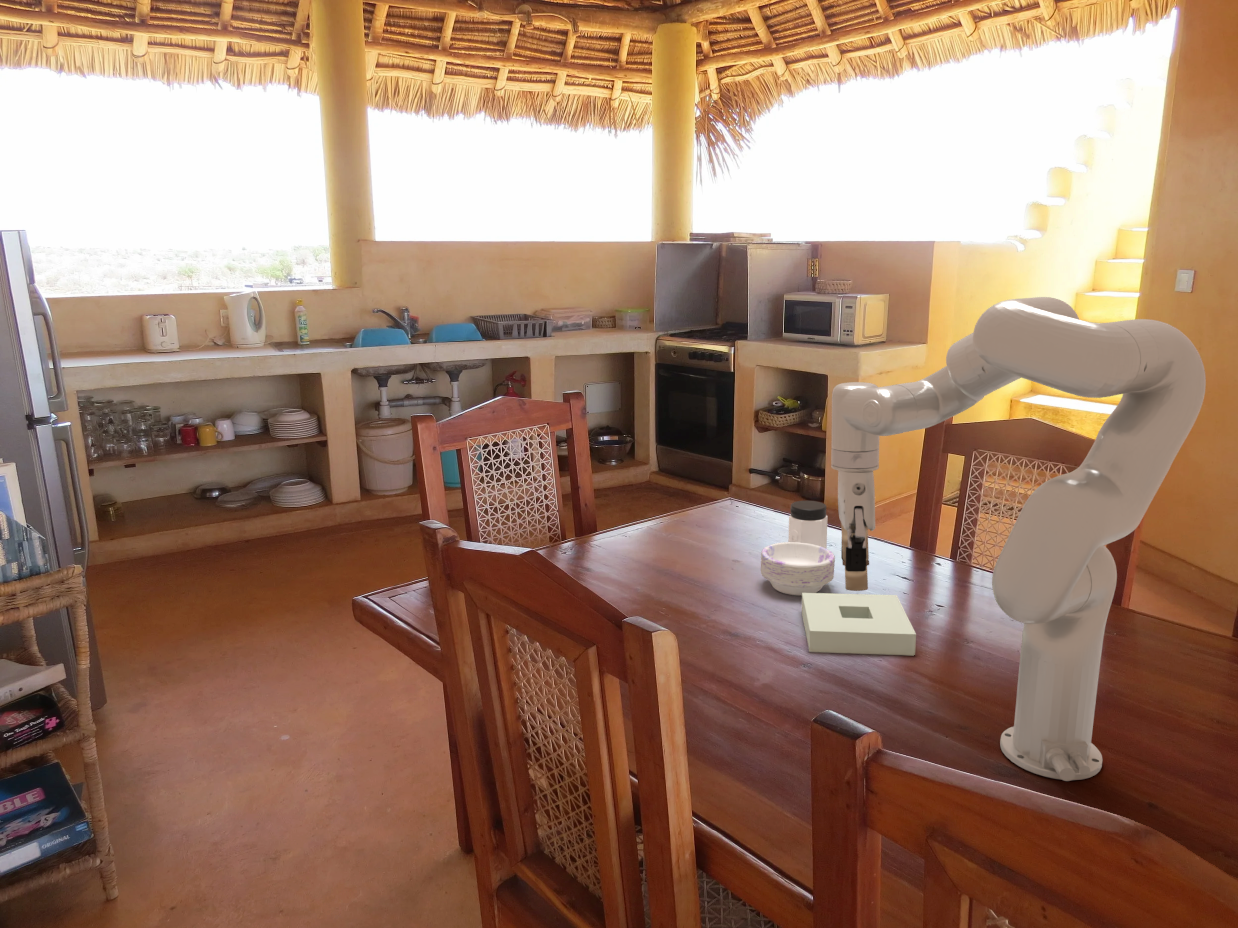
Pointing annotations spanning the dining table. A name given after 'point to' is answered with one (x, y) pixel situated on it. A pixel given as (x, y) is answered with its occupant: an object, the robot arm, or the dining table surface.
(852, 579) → the peg
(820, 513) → the jar
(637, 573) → the dining table surface
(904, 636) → the board
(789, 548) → the paper bowls
